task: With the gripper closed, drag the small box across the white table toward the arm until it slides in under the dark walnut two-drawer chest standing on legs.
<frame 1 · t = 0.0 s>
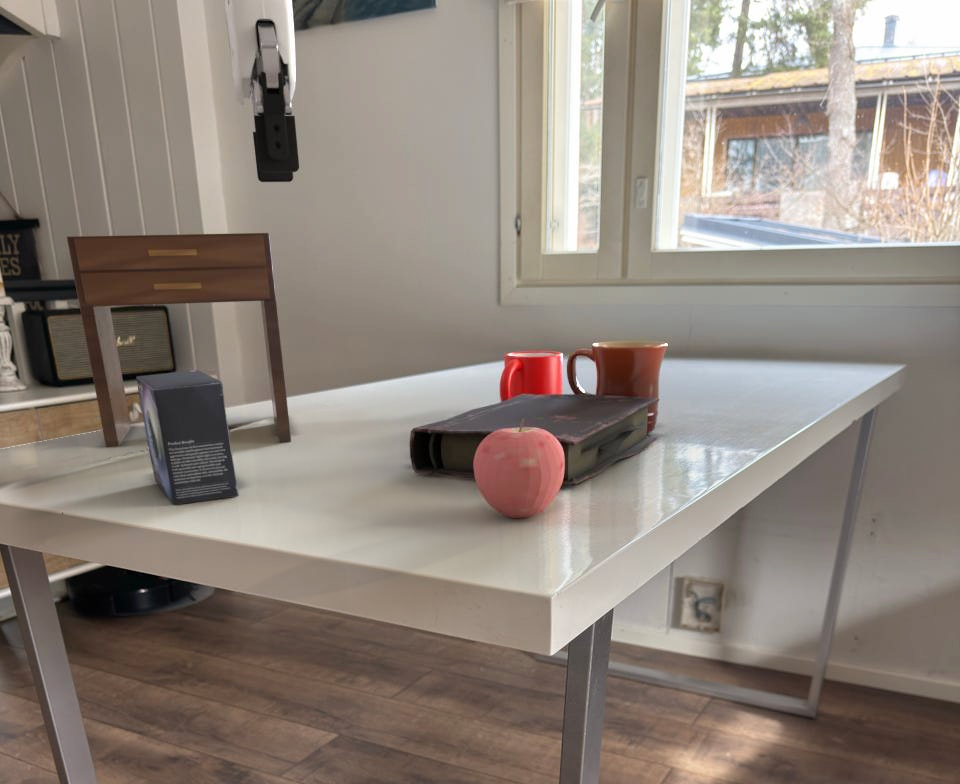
hand: (277, 176, 78), 27 cm above the table, tool pointing down, fingers open, 9 cm apart
apple: (520, 517, 75), on the table
small box: (194, 491, 86), on the table
mug: (612, 433, 109), on the table
mug 2: (526, 417, 121), on the table
diary: (544, 460, 95), on the table
drawer chest: (203, 437, 112), on the table
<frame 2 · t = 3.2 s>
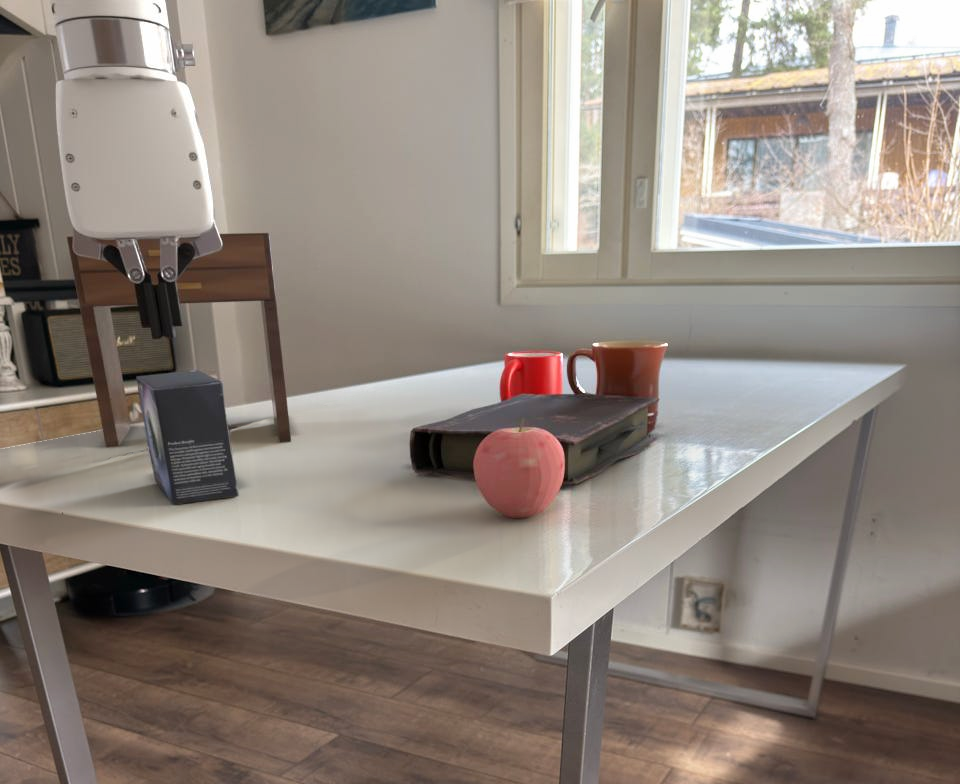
hand: (164, 337, 70), 15 cm above the table, tool pointing down, fingers closed
nothing on the table moved.
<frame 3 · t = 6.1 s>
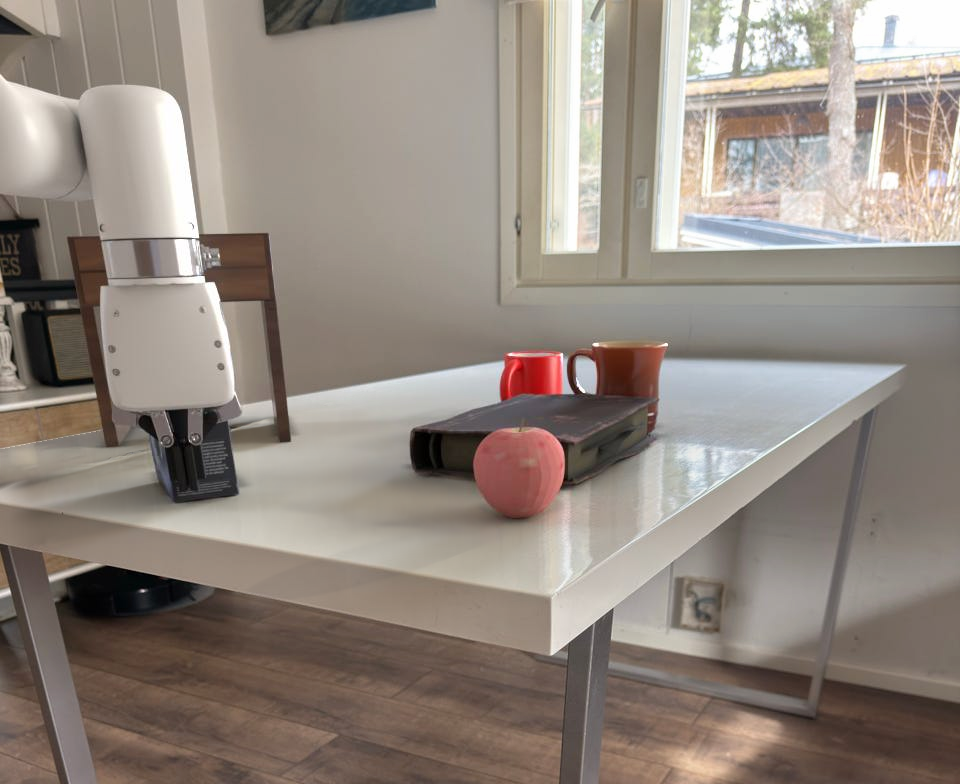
hand: (190, 488, 79), 2 cm above the table, tool pointing down, fingers closed
small box: (196, 489, 86), on the table, touching gripper
everything else where it was.
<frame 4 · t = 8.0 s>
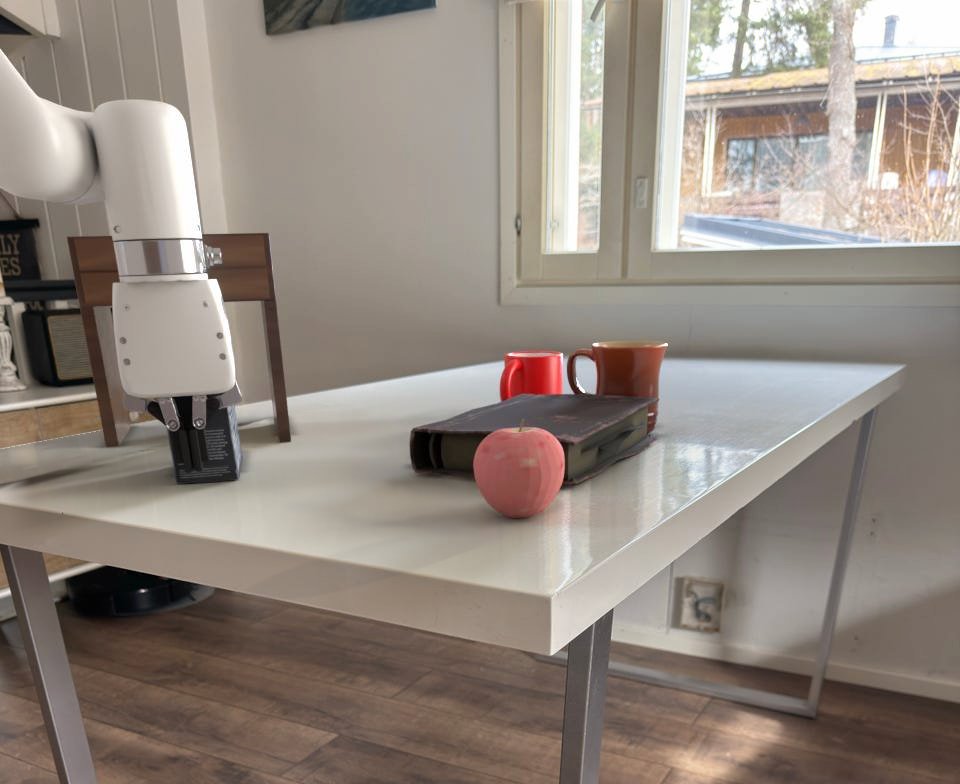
hand: (194, 469, 86), 2 cm above the table, tool pointing down, fingers closed
small box: (210, 473, 93), on the table, touching gripper
everything else where it was.
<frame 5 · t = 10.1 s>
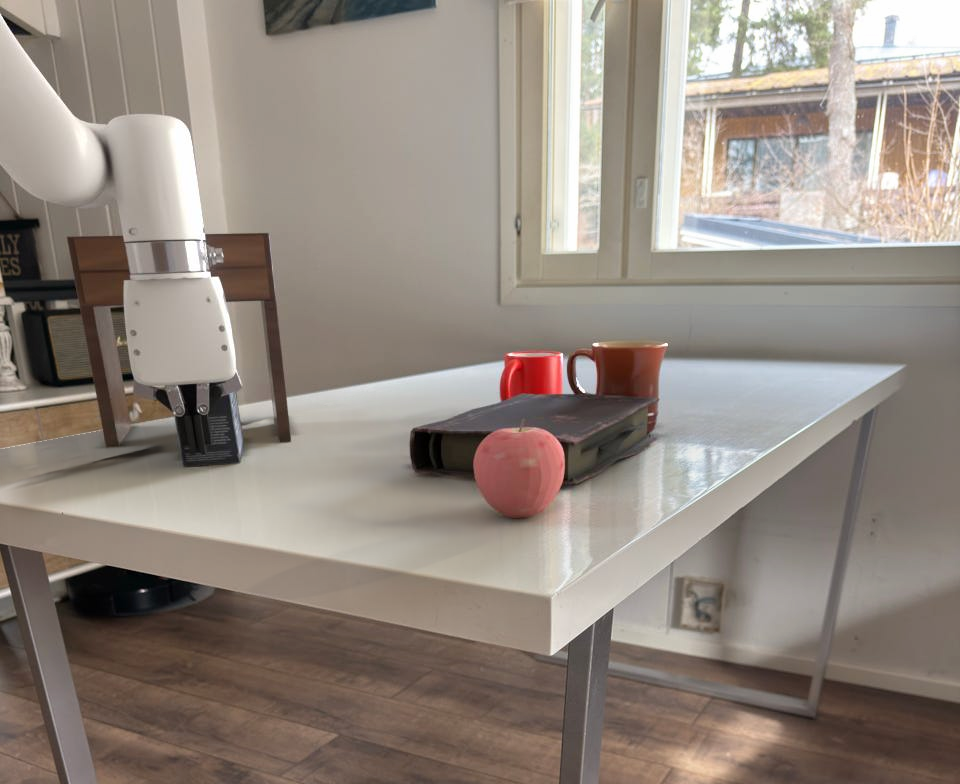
hand: (198, 452, 94), 2 cm above the table, tool pointing down, fingers closed
small box: (214, 457, 101), on the table, touching gripper
everything else where it was.
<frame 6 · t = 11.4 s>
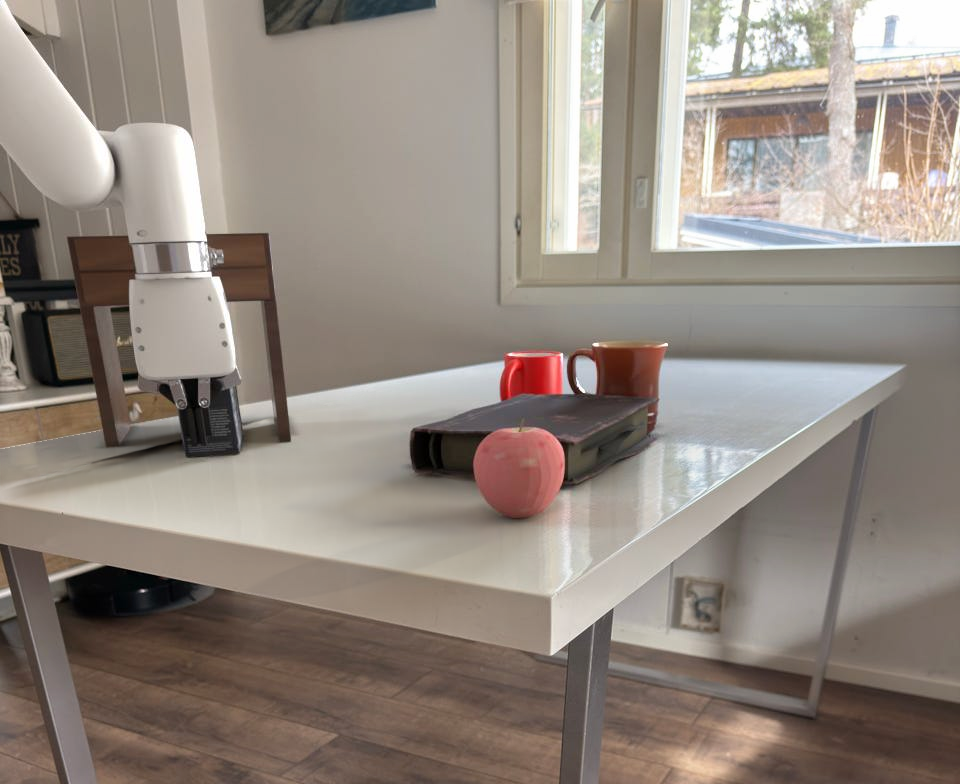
hand: (199, 443, 98), 2 cm above the table, tool pointing down, fingers closed
small box: (215, 449, 105), on the table, touching gripper
everything else where it was.
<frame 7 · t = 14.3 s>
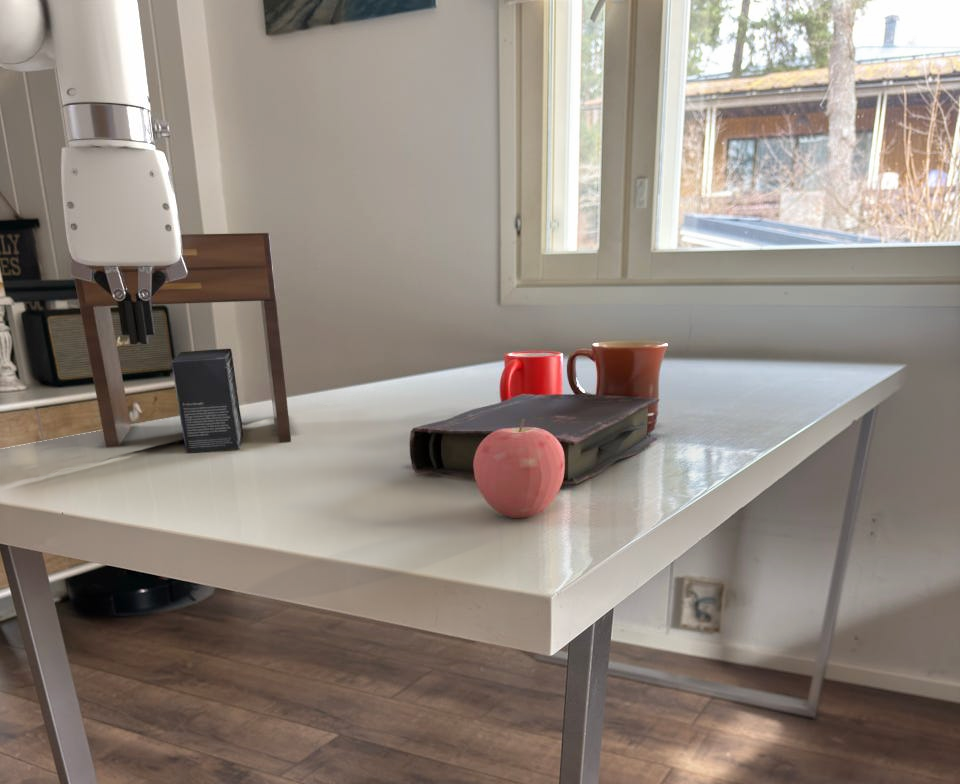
hand: (139, 342, 89), 13 cm above the table, tool pointing down, fingers closed
small box: (215, 445, 108), on the table
everything else where it was.
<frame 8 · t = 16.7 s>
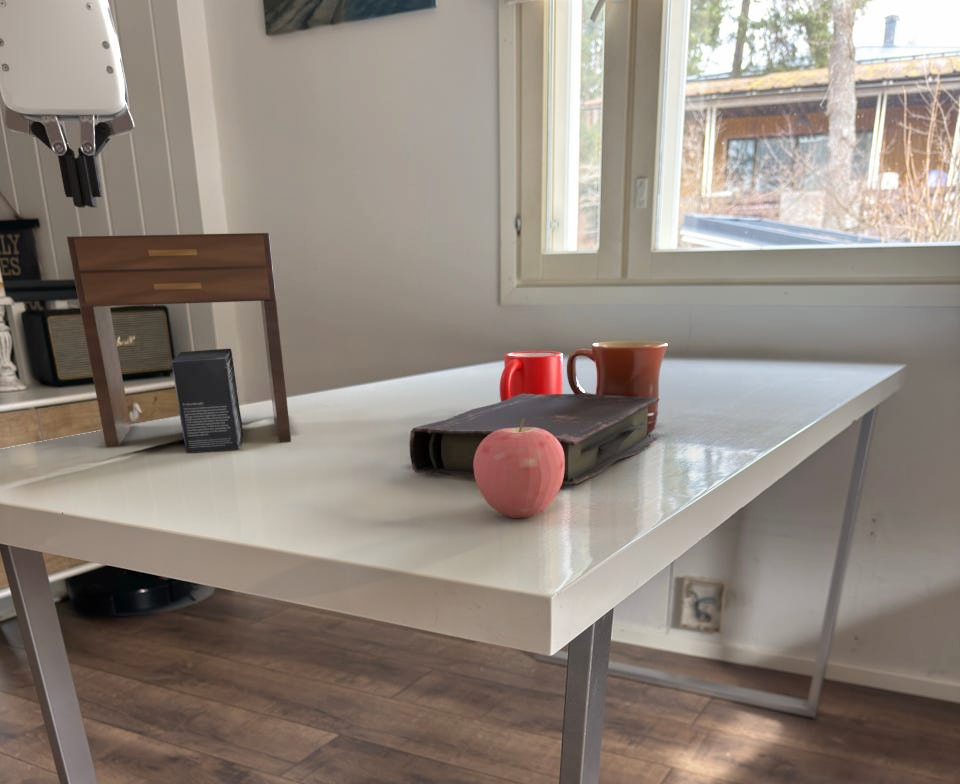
hand: (85, 206, 82), 25 cm above the table, tool pointing down, fingers closed
nothing on the table moved.
at the end: small box 5.1 cm from the drawer chest (horizontally); small box moved 24.3 cm from its start; small box tilted 0° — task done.
